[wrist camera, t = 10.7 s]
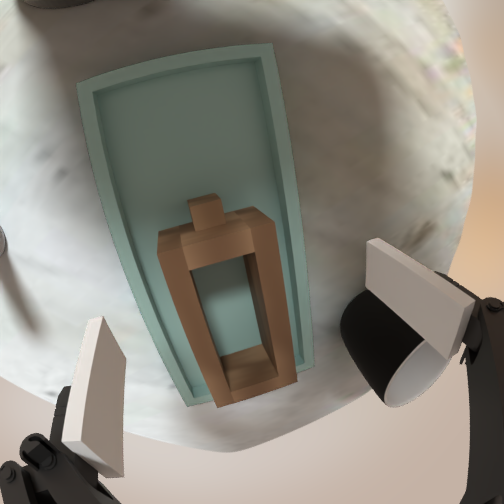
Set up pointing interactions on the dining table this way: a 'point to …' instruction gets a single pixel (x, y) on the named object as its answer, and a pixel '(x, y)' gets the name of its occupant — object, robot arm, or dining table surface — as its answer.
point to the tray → (197, 188)
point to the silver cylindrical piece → (2, 241)
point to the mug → (389, 351)
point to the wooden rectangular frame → (261, 287)
